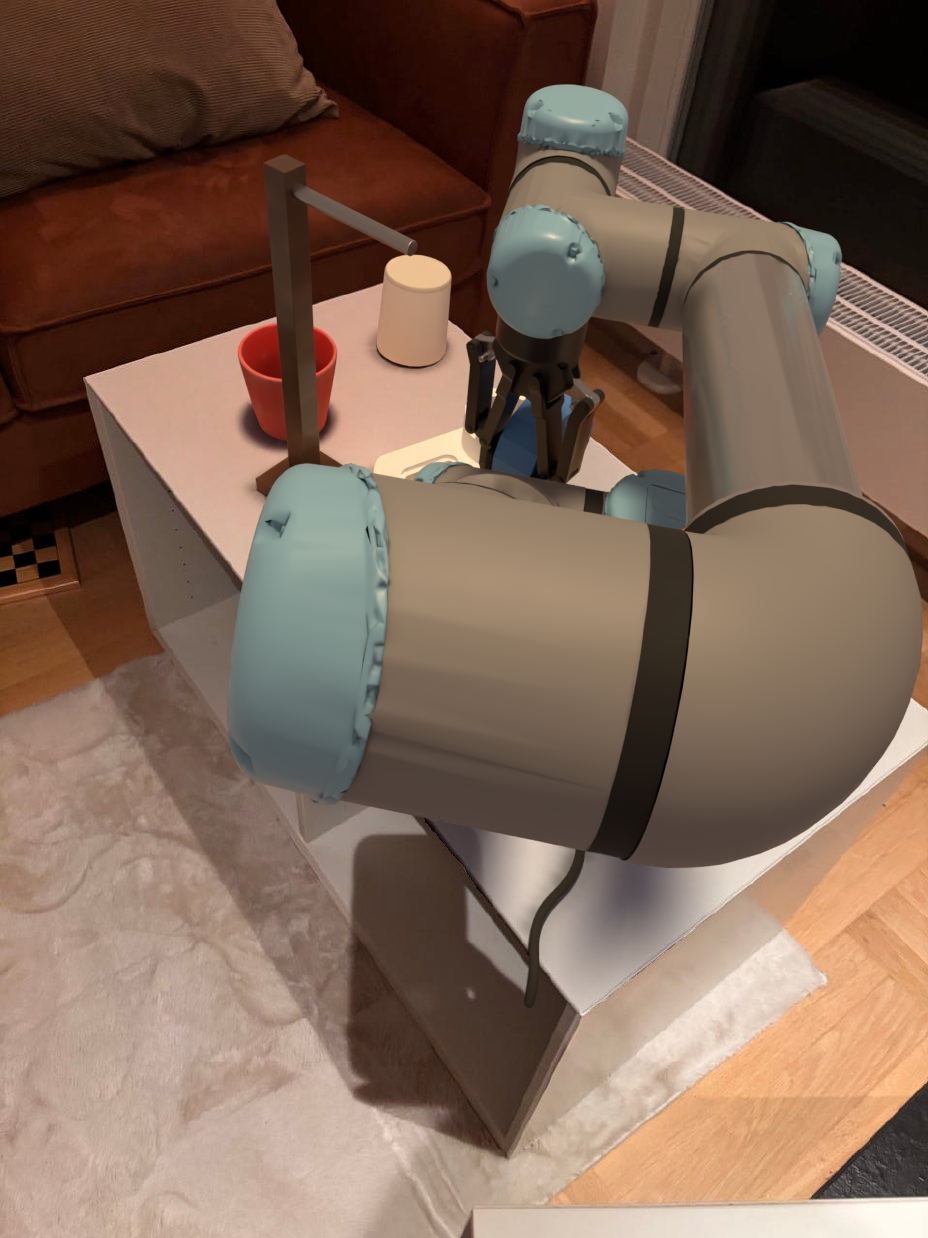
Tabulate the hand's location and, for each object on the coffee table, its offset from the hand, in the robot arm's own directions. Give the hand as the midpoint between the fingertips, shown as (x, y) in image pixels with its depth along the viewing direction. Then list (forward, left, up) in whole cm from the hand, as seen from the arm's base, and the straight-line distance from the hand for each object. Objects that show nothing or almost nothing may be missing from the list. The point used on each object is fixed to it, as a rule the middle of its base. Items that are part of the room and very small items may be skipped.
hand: (511, 507), depth 93 cm
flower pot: (+20, +23, -6) cm, 31 cm away
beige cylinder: (+36, +8, +5) cm, 38 cm away
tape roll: (+3, -3, +5) cm, 7 cm away
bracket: (+11, +4, -6) cm, 13 cm away
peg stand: (+5, +17, -6) cm, 19 cm away
